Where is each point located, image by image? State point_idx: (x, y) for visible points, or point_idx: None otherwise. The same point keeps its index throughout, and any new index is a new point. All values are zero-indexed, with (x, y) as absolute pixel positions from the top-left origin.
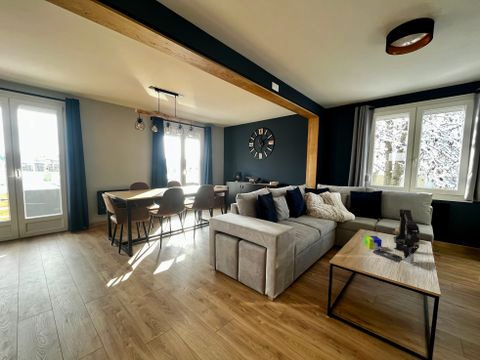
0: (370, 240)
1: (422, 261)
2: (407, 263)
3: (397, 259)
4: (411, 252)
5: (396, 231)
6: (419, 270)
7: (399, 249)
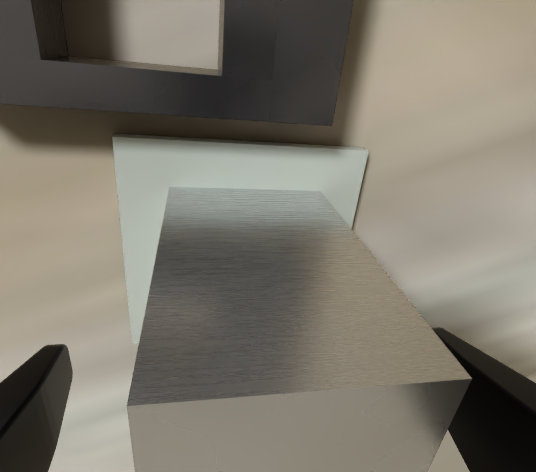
0: None
1: (506, 327)
2: (148, 276)
3: (7, 101)
4: (494, 427)
5: None
6: (81, 436)
7: None
